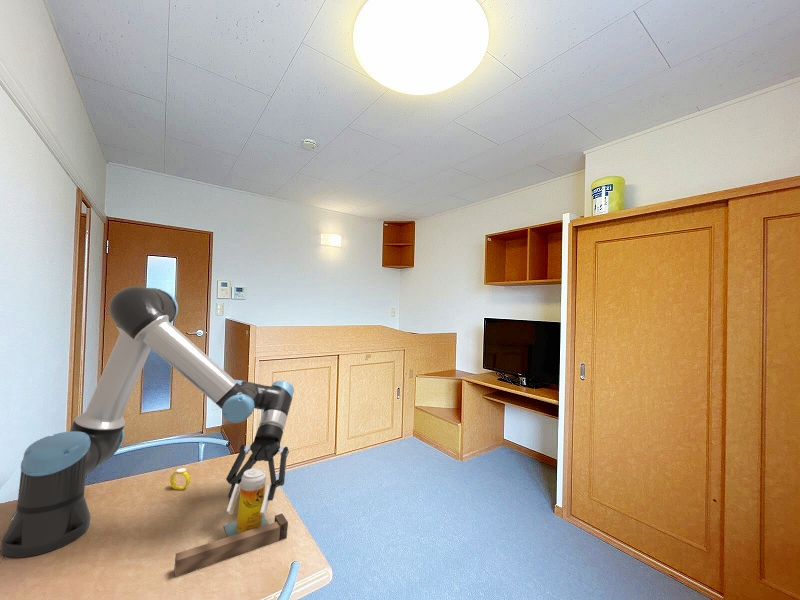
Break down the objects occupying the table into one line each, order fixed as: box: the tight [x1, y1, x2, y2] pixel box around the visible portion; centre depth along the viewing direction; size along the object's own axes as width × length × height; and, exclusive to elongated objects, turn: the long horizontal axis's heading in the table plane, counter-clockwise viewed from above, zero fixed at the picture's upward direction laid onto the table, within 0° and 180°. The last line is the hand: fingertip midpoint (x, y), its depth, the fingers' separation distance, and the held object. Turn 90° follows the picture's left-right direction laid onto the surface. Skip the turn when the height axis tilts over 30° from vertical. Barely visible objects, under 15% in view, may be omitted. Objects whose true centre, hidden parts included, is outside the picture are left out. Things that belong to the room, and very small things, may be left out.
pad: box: [223, 516, 269, 537], centre depth 90 cm, size 10×9×1 cm
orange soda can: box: [236, 467, 267, 533], centre depth 90 cm, size 6×6×15 cm
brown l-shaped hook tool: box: [173, 513, 289, 578], centre depth 82 cm, size 24×4×4 cm, turn 128°
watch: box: [169, 467, 191, 491], centre depth 108 cm, size 6×3×6 cm, turn 83°
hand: (246, 513), depth 87 cm, fingers open, 8 cm apart
